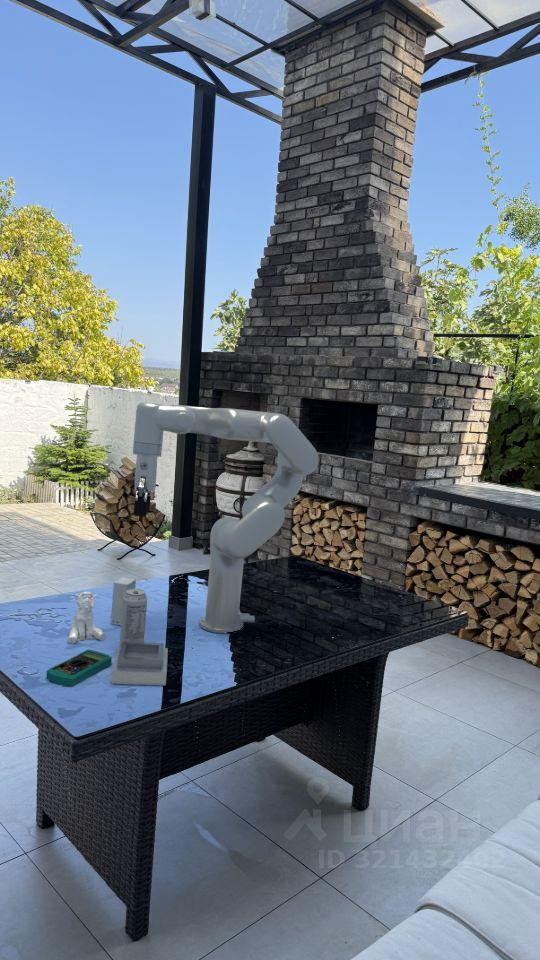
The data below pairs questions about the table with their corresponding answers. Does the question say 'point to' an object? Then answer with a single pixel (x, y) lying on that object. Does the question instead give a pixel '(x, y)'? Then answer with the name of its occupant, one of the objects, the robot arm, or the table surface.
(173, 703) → the table surface
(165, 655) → the white square stepped base
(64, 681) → the digital multimeter
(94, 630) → the white animal figurine
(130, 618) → the energy drink can
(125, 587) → the skincare box
